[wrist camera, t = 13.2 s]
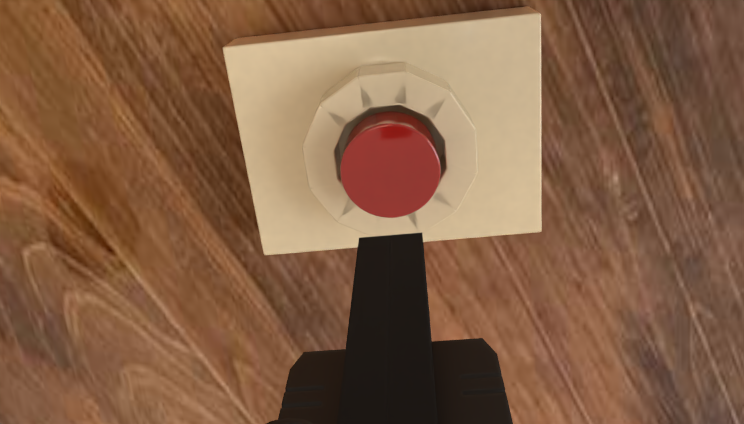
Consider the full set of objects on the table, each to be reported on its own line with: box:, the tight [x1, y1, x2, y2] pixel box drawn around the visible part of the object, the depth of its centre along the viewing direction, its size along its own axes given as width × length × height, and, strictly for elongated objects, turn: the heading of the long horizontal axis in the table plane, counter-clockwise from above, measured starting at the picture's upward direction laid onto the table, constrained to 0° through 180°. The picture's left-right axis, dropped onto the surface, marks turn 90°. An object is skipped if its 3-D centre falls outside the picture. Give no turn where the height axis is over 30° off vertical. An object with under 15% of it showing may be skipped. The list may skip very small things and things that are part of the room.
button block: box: [223, 6, 542, 255], centre depth 26 cm, size 12×9×4 cm
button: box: [340, 111, 441, 218], centre depth 24 cm, size 4×4×2 cm
